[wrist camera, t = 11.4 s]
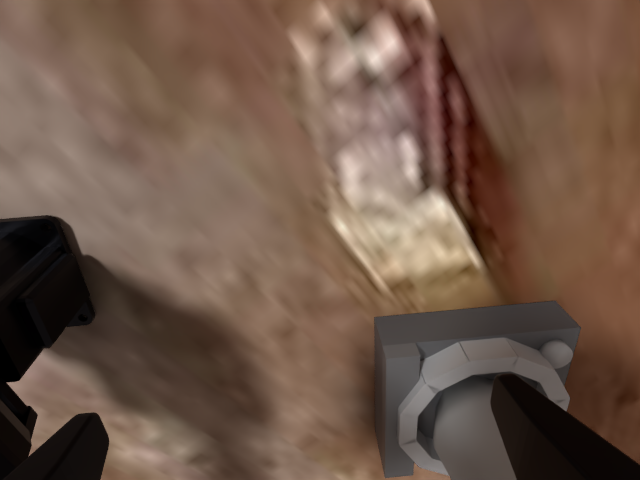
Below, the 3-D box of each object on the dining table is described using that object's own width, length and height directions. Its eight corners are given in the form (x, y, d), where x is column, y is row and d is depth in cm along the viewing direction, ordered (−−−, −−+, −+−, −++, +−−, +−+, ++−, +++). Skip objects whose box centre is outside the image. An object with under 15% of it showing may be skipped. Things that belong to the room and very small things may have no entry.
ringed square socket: (375, 430, 29) (386, 485, 26) (374, 317, 25) (388, 365, 21) (527, 415, 30) (560, 468, 26) (555, 300, 25) (598, 345, 21)
